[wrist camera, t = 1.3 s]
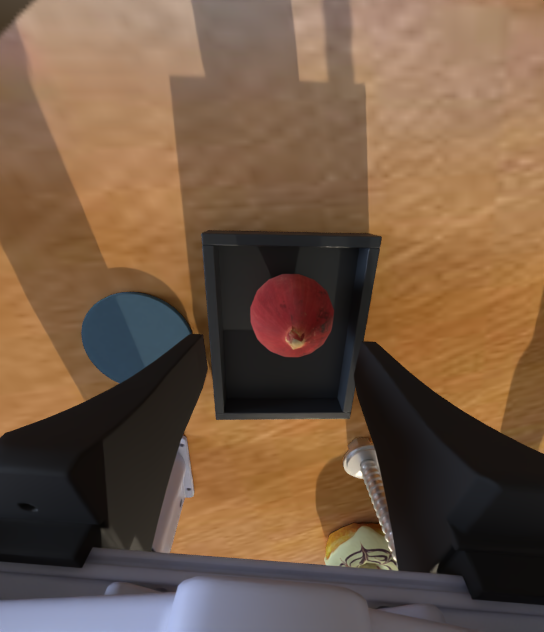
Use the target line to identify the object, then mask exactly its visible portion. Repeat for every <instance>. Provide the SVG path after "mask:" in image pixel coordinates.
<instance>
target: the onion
mask: <svg viewBox="0 0 544 632" xmlns="http://www.w3.org/2000/svg"><path fill="white" fill-rule="evenodd" d="M250 315H251V325H252V327H253V330H254V332H255V334H256V337H257V339H258V340H259V341H260V342H261V343H262V344H263V345H264V346H265V347H266V348H267V349H268V350H269V351H271V352H273V353H276V354H278V355H281V356H284V357H301V356H304V355H307V354H311V353H312V352H313V351H315V350H316V349H318V348H319V347H320V346H322V345H323V344H324V342H325V340H326V339H327V337H328V335H329V334H330V332H331V329H332V324H333V316H334V309H333V306H332V304H331V301H330V298H329V296H328V293H327V291H326V290H325V289H324V288H323V287H322V286H321V285H320V284H318V283H317V282H316V281H315V280H313V279H311V278H308V277H305V276H303V275H300V274H281V275H279V276H276V277H274V278H271V279H269V280H268V281H267V282H266V283H264V284H263V285H262V286H261V287H260V288H259V289H258V290H257V292H256V294H255V297H254V300H253V302H252V305H251V307H250Z"/></svg>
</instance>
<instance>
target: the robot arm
mask: <svg viewBox="0 0 544 632" xmlns="http://www.w3.org/2000/svg"><path fill="white" fill-rule="evenodd" d="M207 370H208V367H207V360H206V353H205V346H204V339H203V334H189V335H188V336H186V337H185V338H184V339H182V340H181V341H180V342H179V343H177V344H176V345H175V346H173V347H172V348H171V349H170V350H168V351H167V352H166V353H164V354H163V355H162V356H161V357H159V358H158V359H157V360H155V361H154V362H152V363H151V364H149V365H148V366H146V367H145V368H144V369H142V370H141V371H139V372H138V373H136V374H135V375H133V376H132V377H130V378H128V379H127V380H125V381H123V382H122V383H120V384H118V385H116V386H115V387H113V388H111V389H109V390H107V391H105V392H103V393H101V394H99V395H97V396H95V397H93V398H91V399H90V400H88V401H86V402H83V403H81V404H79V405H77V406H75V407H72V408H70V409H68V410H65V411H63V412H61V413H58V414H56V415H53V416H51V417H48V418H46V419H43V420H41V421H38V422H35V423H32V424H30V425H27V426H24V427H21V428H19V429H16V430H13V431H10V432H7V433H5V434H4V435H3V436H2V437H1V438H0V632H544V454H543V453H540V452H538V451H536V450H534V449H532V448H529V447H527V446H525V445H523V444H521V443H519V442H517V441H516V440H514V439H512V438H510V437H508V436H506V435H504V434H502V433H500V432H498V431H496V430H495V429H493V428H491V427H489V426H487V425H485V424H484V423H482V422H480V421H479V420H477V419H475V418H474V417H472V416H470V415H469V414H467V413H465V412H464V411H462V410H460V409H459V408H457V407H456V406H454V405H453V404H451V403H450V402H448V401H447V400H445V399H444V398H442V397H441V396H440V395H438V394H437V393H435V392H434V391H433V390H431V389H430V388H429V387H427V386H426V385H425V384H424V383H422V382H421V381H420V380H418V379H417V378H416V377H415V376H414V375H412V374H411V373H410V372H409V371H408V370H406V369H405V368H404V367H403V366H402V365H401V364H400V363H398V362H397V361H396V360H395V359H394V358H393V357H392V356H391V355H390V354H389V353H387V352H386V351H385V350H384V349H383V348H382V347H381V346H380V345H378V344H377V343H376V342H364V341H362V342H361V346H360V350H359V355H358V359H357V364H356V368H355V372H354V380H355V386H356V391H357V396H358V399H359V402H360V405H361V408H362V411H363V414H364V417H365V420H366V423H367V426H368V429H369V432H370V435H371V438H372V441H373V444H374V448H375V451H376V455H377V460H378V464H379V469H380V473H381V477H382V482H383V487H384V492H385V497H386V502H387V507H388V512H389V518H390V523H391V529H392V534H393V540H394V547H395V553H396V559H397V565H398V571H395V570H382V569H369V568H356V567H343V566H330V565H317V564H304V563H291V562H278V561H265V560H252V559H239V558H226V557H213V556H200V555H187V554H174V553H170V551H171V547H172V543H173V539H174V536H175V532H176V528H177V525H178V521H179V517H180V513H181V510H182V506H183V502H184V499H185V497H193V496H194V485H193V478H192V471H191V464H190V457H189V450H188V443H187V438H186V437H185V436H183V434H184V431H185V429H186V426H187V424H188V422H189V419H190V417H191V415H192V412H193V410H194V408H195V405H196V403H197V400H198V398H199V396H200V393H201V391H202V388H203V385H204V381H205V377H206V374H207Z"/></svg>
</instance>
